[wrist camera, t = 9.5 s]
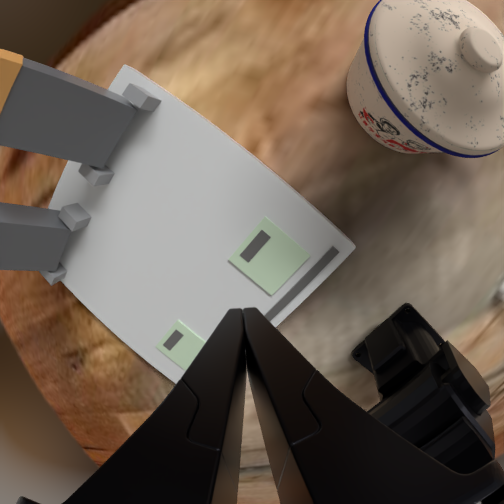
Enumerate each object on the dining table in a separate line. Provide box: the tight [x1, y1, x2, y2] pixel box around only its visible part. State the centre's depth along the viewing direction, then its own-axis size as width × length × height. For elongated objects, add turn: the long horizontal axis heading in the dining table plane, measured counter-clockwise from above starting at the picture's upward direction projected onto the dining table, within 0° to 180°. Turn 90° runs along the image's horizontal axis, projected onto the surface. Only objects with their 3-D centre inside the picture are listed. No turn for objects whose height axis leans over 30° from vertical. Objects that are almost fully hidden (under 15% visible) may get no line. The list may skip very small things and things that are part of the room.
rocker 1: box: [0, 49, 138, 168], centre depth 14 cm, size 3×5×11 cm, turn 141°
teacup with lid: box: [347, 0, 504, 158], centre depth 12 cm, size 12×9×12 cm
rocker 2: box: [0, 202, 72, 271], centre depth 18 cm, size 3×5×11 cm, turn 141°
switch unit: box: [39, 64, 356, 383], centre depth 22 cm, size 22×20×4 cm
